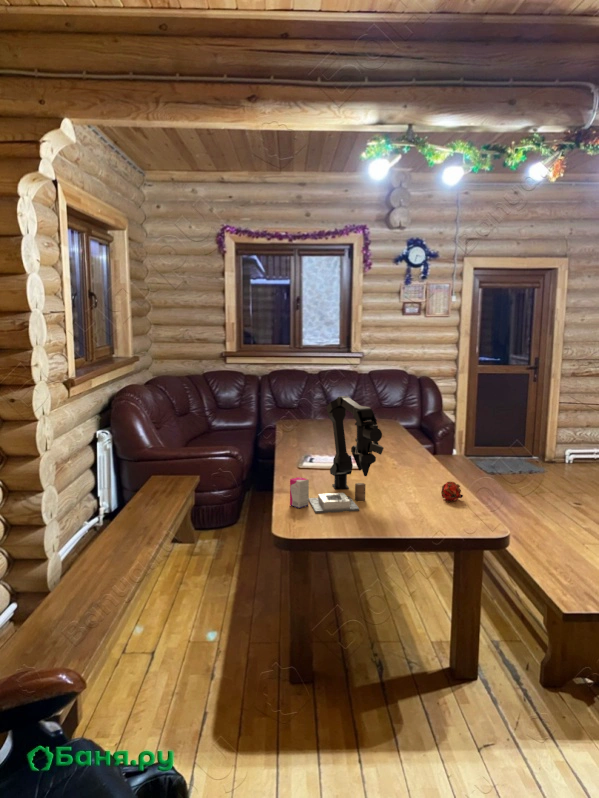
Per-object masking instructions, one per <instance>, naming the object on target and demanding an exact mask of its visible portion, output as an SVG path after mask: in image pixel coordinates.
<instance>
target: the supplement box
mask: <svg viewBox="0 0 599 798" xmlns="http://www.w3.org/2000/svg"><path fill="white" fill-rule="evenodd" d="M309 480H310V479H308V478H305V477H300V476H298V477H295V478H290V479H289V506H290V505H291V506H290V507H292V506H294V507H293V508H295V507H296V508H295V509H298V508H300V509H302V507H303V508H306V507H309V506H310V505H309V504H310V502H309V498H310V495H309V494H310V493H309V492H310V491H309V489H310V487H309V485H310V484H309V483H310V481H309ZM308 505H309V506H308ZM305 506H306V507H305Z"/></svg>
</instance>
